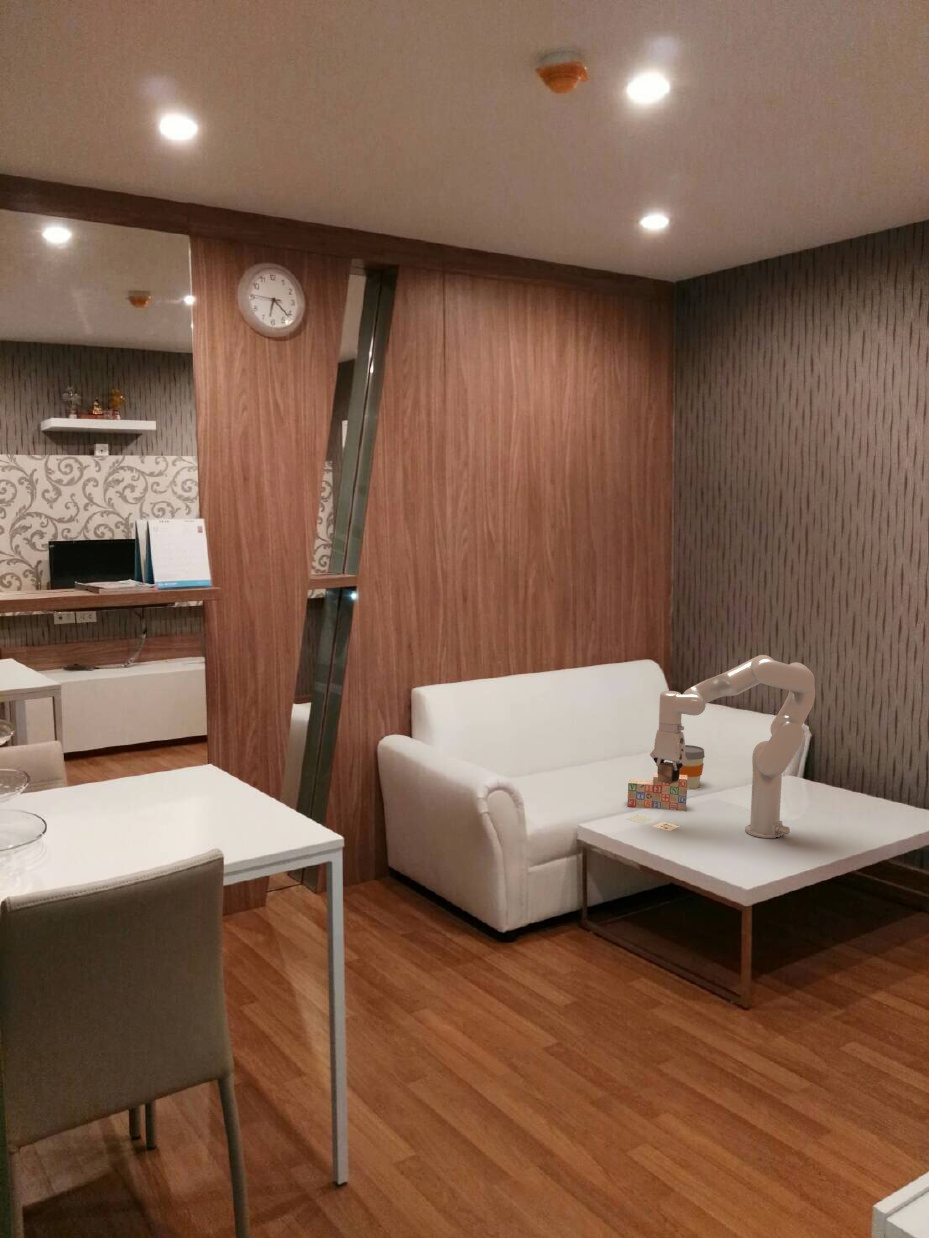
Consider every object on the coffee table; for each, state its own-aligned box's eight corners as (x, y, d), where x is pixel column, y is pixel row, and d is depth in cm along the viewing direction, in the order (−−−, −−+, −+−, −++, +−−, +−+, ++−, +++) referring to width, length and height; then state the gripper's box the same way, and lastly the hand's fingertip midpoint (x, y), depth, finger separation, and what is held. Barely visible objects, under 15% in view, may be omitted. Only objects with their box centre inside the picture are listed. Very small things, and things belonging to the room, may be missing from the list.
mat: (690, 825, 353) (690, 824, 353) (665, 835, 341) (666, 834, 341) (640, 811, 367) (640, 810, 367) (614, 821, 355) (614, 820, 355)
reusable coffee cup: (685, 791, 393) (687, 754, 391) (664, 783, 404) (665, 746, 402) (710, 787, 399) (711, 750, 397) (688, 779, 410) (690, 743, 408)
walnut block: (678, 781, 348) (678, 764, 348) (670, 784, 345) (671, 766, 344) (665, 778, 352) (666, 761, 351) (657, 781, 348) (658, 764, 347)
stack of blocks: (627, 807, 373) (628, 774, 371) (628, 802, 379) (629, 770, 377) (686, 811, 368) (687, 778, 367) (686, 806, 374) (687, 774, 373)
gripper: (697, 729, 343) (695, 781, 345) (654, 721, 355) (653, 772, 357) (685, 733, 338) (683, 786, 340) (642, 725, 349) (641, 776, 351)
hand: (668, 778), depth 348 cm, fingers closed on walnut block, 5 cm apart
